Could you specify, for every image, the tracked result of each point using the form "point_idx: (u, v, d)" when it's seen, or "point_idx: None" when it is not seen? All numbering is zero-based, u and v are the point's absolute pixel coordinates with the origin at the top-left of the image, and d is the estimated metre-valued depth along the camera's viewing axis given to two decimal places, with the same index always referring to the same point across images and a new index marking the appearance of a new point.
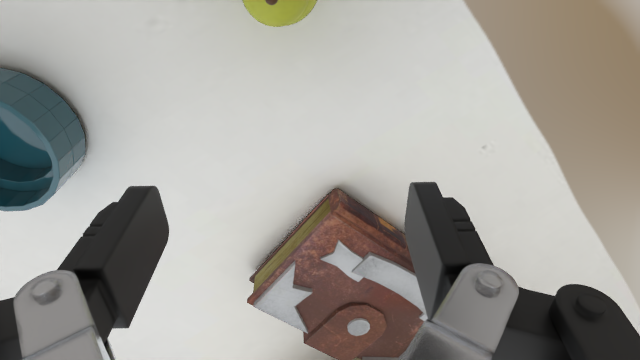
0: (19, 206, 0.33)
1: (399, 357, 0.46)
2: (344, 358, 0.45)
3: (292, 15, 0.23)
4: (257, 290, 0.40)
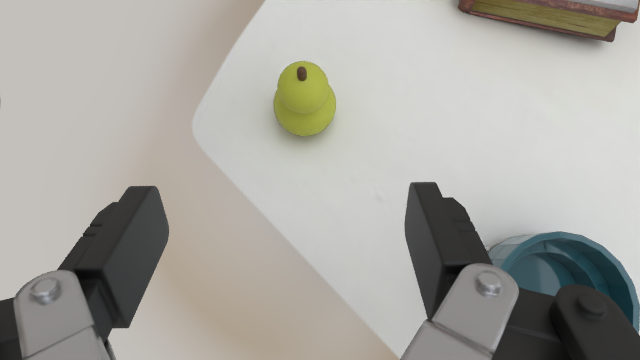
0: (618, 270, 0.30)
1: None
2: None
3: (311, 64, 0.30)
4: (613, 17, 0.35)
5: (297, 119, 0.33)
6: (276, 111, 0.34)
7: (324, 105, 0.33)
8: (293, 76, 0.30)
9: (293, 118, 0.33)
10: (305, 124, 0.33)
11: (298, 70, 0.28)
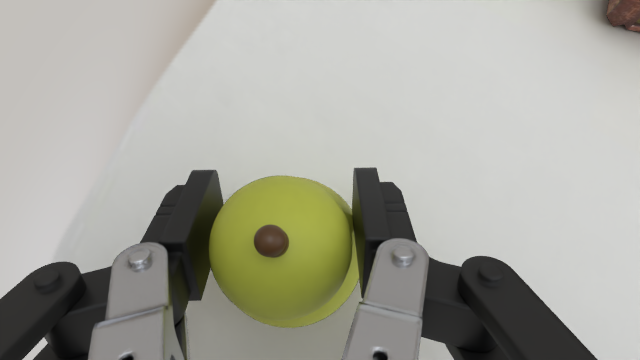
0: None
1: None
2: None
3: (304, 190, 0.10)
4: None
5: None
6: None
7: None
8: (248, 240, 0.10)
9: None
10: (290, 320, 0.13)
11: (258, 243, 0.08)
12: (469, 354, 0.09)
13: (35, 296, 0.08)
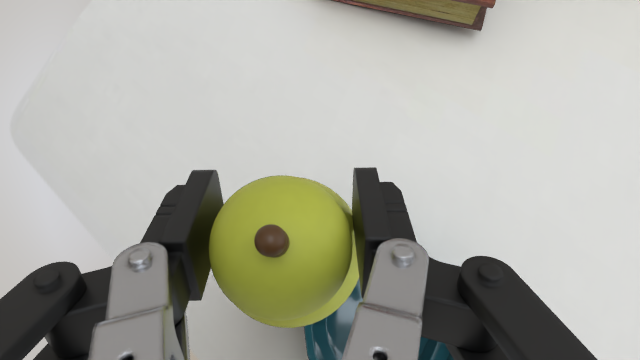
0: None
1: None
2: None
3: (305, 190, 0.10)
4: (470, 1, 0.31)
5: None
6: None
7: None
8: (248, 240, 0.10)
9: None
10: (289, 320, 0.13)
11: (259, 242, 0.08)
12: (469, 354, 0.09)
13: (35, 296, 0.08)
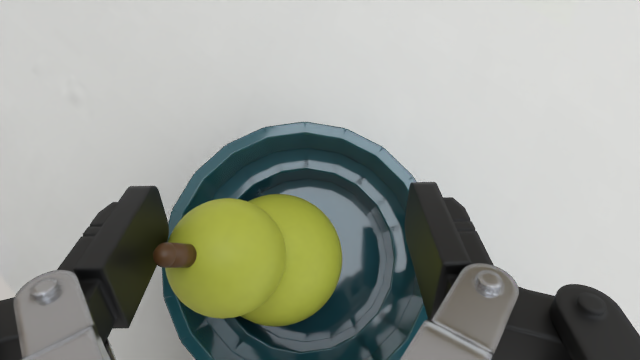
0: (408, 189, 0.16)
1: None
2: None
3: (223, 211, 0.13)
4: None
5: None
6: None
7: (291, 281, 0.14)
8: None
9: None
10: (260, 319, 0.15)
11: (153, 257, 0.11)
12: None
13: None
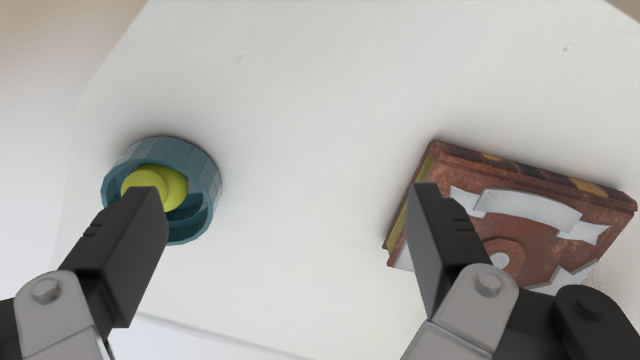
0: (191, 237, 0.42)
1: (549, 281, 0.46)
2: None
3: None
4: (392, 252, 0.44)
5: None
6: None
7: None
8: None
9: None
10: None
11: None
12: None
13: None
